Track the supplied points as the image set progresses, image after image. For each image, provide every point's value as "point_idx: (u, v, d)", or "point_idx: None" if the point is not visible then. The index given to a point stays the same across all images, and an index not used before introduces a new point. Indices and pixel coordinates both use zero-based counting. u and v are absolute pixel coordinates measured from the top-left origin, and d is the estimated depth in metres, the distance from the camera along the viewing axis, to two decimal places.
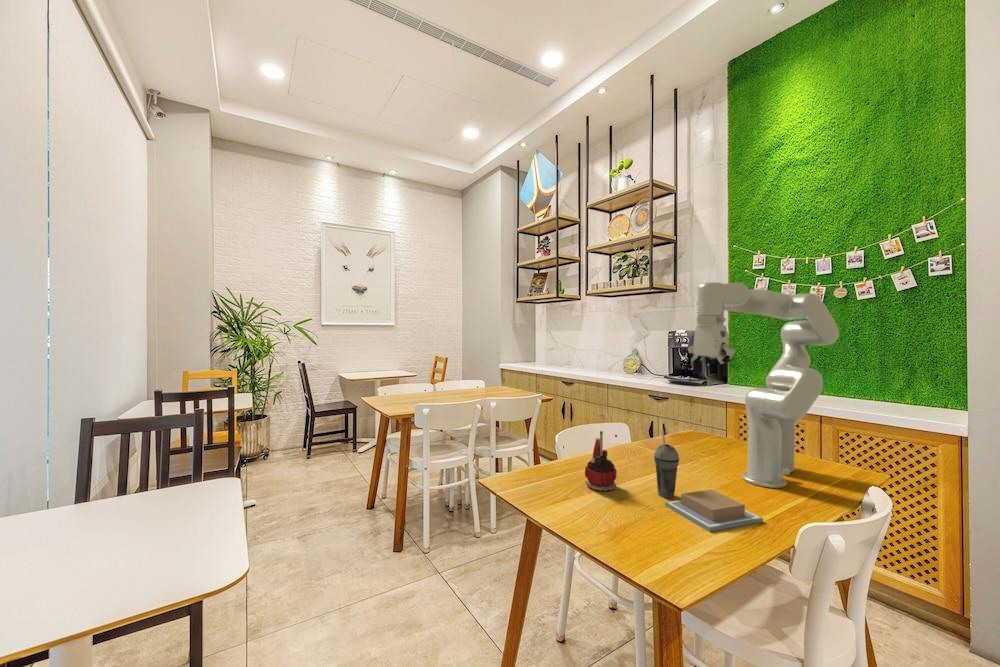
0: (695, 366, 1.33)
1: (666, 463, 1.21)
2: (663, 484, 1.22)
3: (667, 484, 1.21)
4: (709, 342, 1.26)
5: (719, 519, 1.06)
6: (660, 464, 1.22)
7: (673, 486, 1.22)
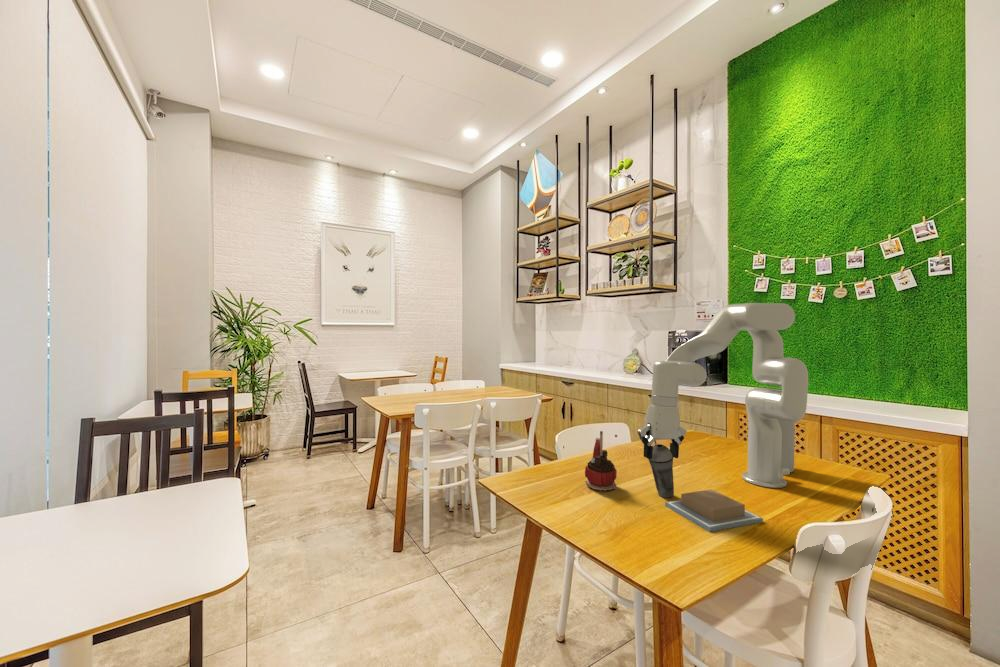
0: None
1: (660, 464, 1.20)
2: (661, 484, 1.22)
3: (665, 484, 1.21)
4: (673, 425, 1.22)
5: (719, 519, 1.06)
6: (655, 466, 1.21)
7: (671, 485, 1.22)
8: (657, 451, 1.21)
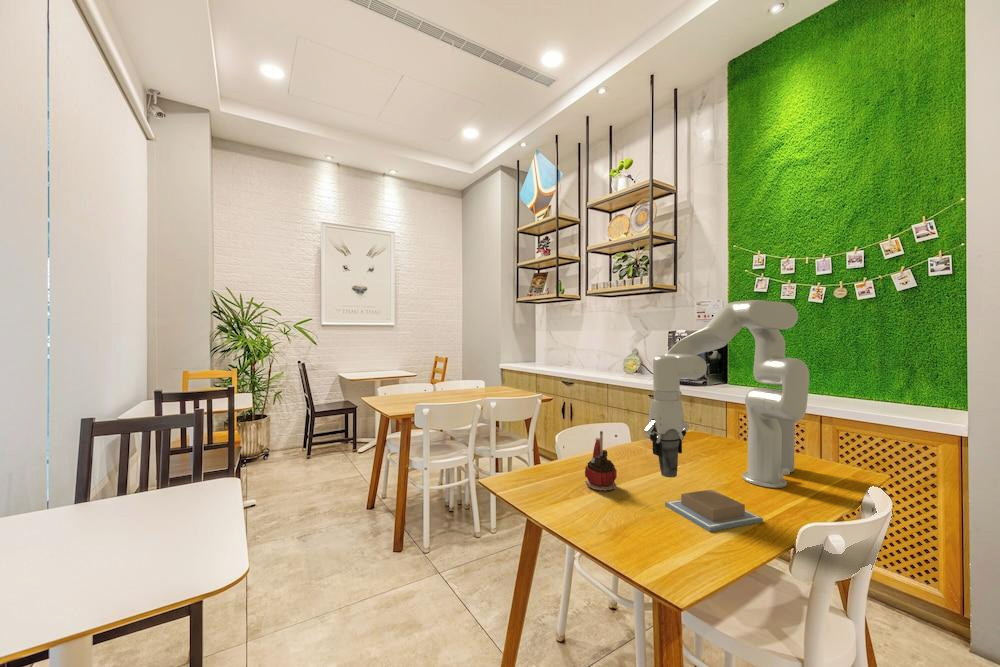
0: None
1: (667, 443, 1.21)
2: (665, 463, 1.22)
3: (669, 463, 1.22)
4: (677, 418, 1.22)
5: (719, 519, 1.06)
6: (661, 444, 1.22)
7: (675, 465, 1.22)
8: None
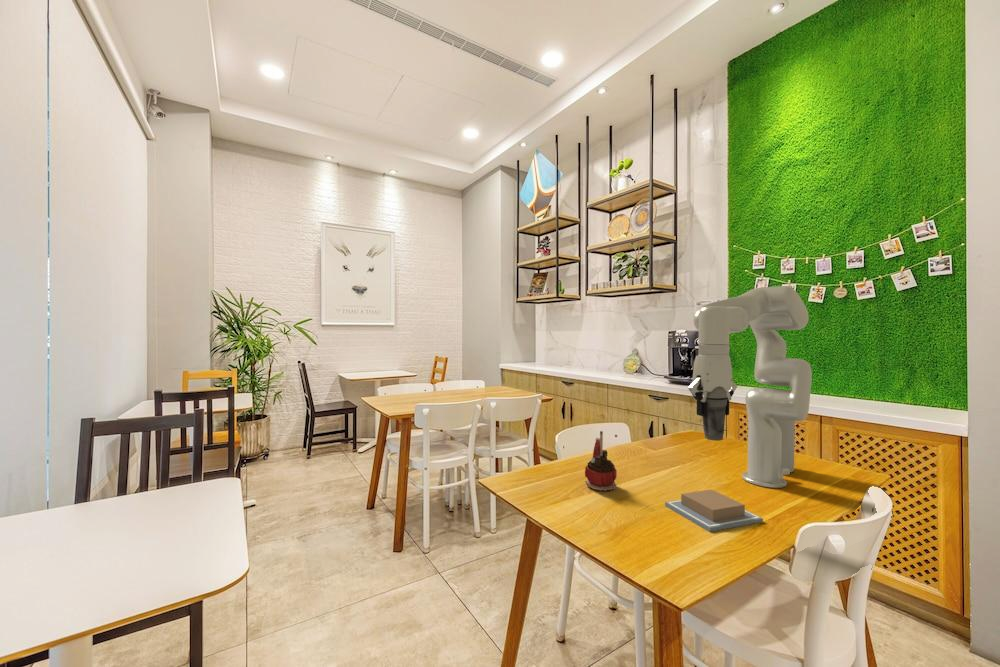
0: None
1: (714, 401, 1.09)
2: (711, 425, 1.10)
3: (716, 425, 1.09)
4: (726, 375, 1.10)
5: (719, 519, 1.06)
6: None
7: (722, 427, 1.10)
8: None
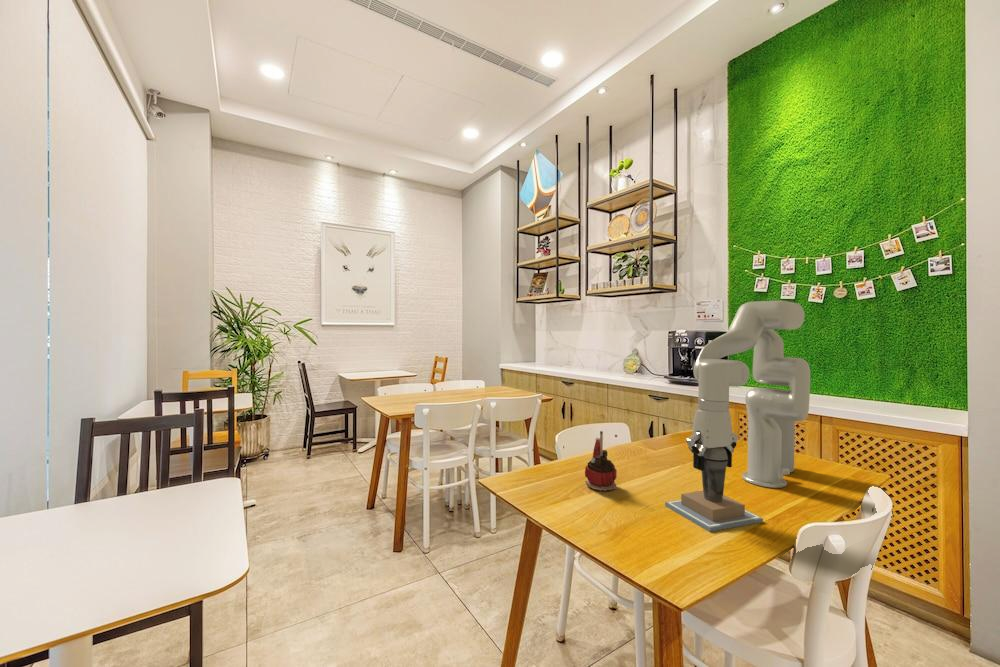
0: None
1: (714, 463, 1.09)
2: (710, 486, 1.10)
3: (715, 486, 1.09)
4: (726, 431, 1.10)
5: (719, 519, 1.06)
6: (707, 464, 1.10)
7: (722, 489, 1.10)
8: (712, 448, 1.10)
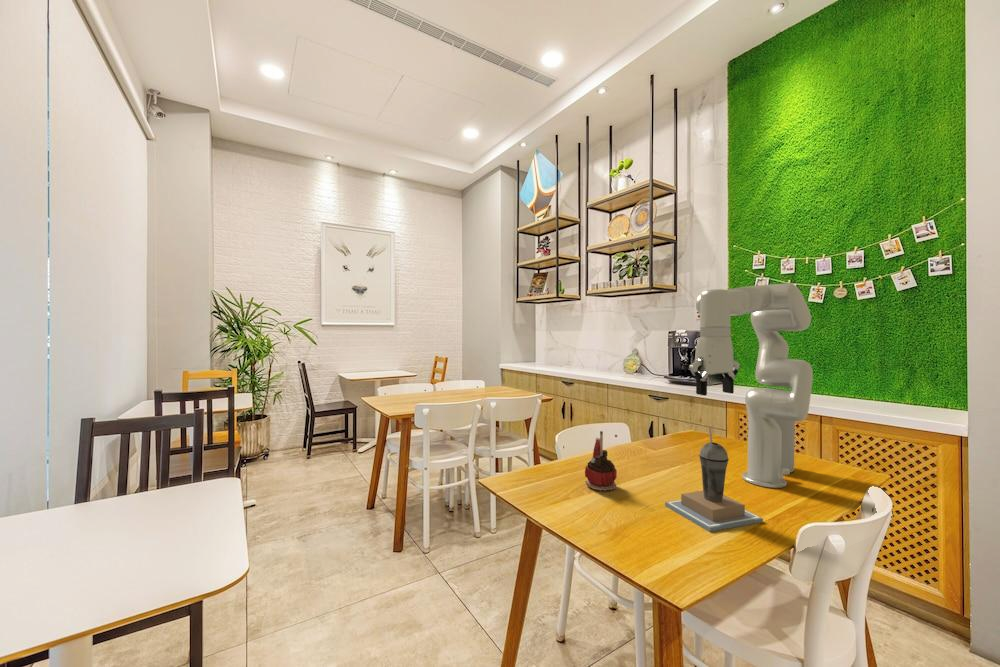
0: None
1: (714, 463, 1.09)
2: (711, 486, 1.10)
3: (715, 486, 1.09)
4: (727, 357, 1.13)
5: (719, 519, 1.06)
6: (708, 464, 1.10)
7: (722, 489, 1.10)
8: (712, 448, 1.10)
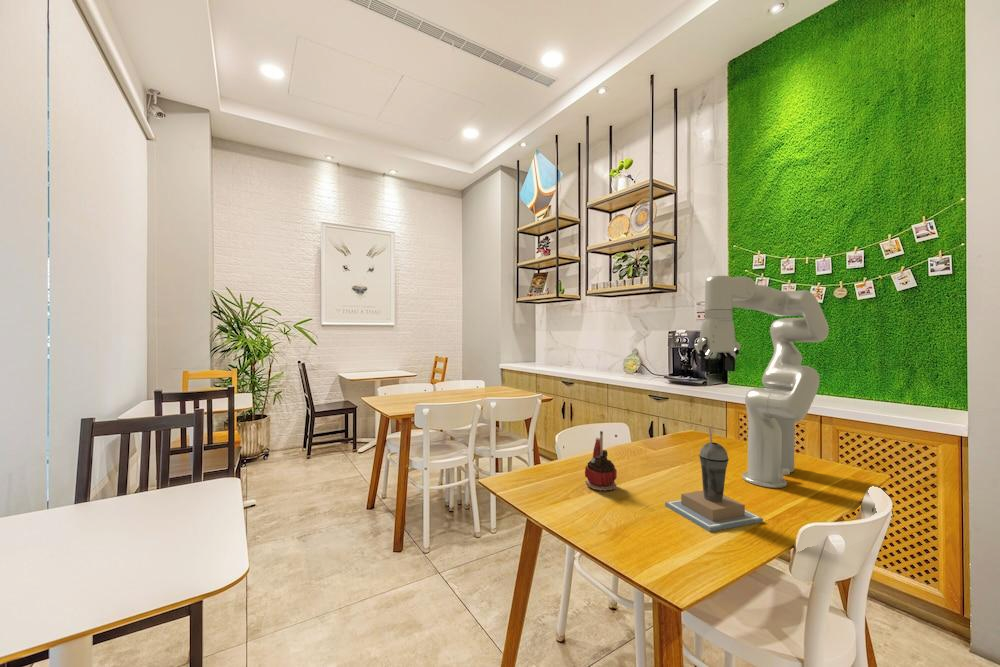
0: None
1: (714, 463, 1.09)
2: (711, 486, 1.10)
3: (715, 486, 1.09)
4: (729, 337, 1.23)
5: (719, 519, 1.06)
6: (708, 464, 1.10)
7: (722, 489, 1.10)
8: (712, 448, 1.10)
